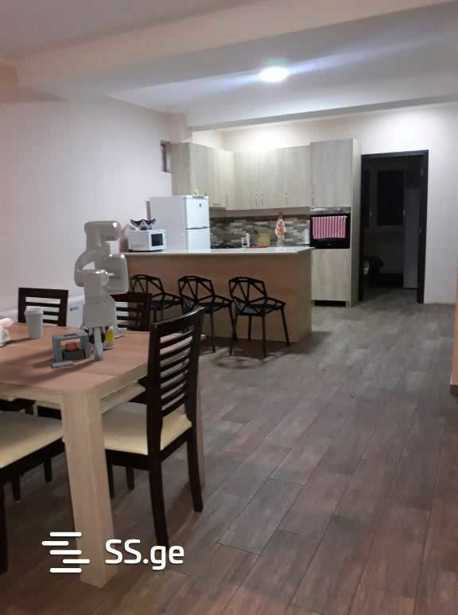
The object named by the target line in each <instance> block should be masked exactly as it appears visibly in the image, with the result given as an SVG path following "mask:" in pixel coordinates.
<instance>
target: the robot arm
mask: <svg viewBox="0 0 458 615" xmlns="http://www.w3.org/2000/svg"><path fill="white" fill-rule="evenodd" d="M83 225H84V226H83V231H84V233H85V235H86V237H85V238H86V240H85V250H84V251H83V252H82V253H81V254H80V255H79V256H78V258H77V259H76V260H75V264H74V270H73V271H74V272H73V282H74V284H75V285H76V286H77V287H78V288H79V287H80V288H83V292H84V293H83V295H84V304H83V305H82V322H81V324H80V326H79V330H80V331H81V332H83V331H84V332H86V333H87V334H88V335H89V342H90V345H93V344H94V340H93V335H92V328H96V327H101V332H102V343H105V342H104V340H105V333H106V331H107V330H108V329H109V328H110V327H111V326H112V327H113V331H114V339H117V338H120V337H121V336H122V333H123V332H124V333H125V332H127V331H128V329H127V327H118V320H117V319H118V318H117V317H118V316H117V306H116V305H117V304H116V301H115V299H114V298H113V297H112V296H111V295H120V294H121V295H122V294H126V293H128V292H129V288H130V287H129V286H130V282H129V272H128V271H129V270H128V262H127V258H126V255H124V254H123V253H112V251H111V243H110V242H117V241H119V239H120V237H121V236H122V225H121V222H120V221H119V220H91V221H88V222H87V221H86V222H85V224H83ZM90 263H91V264H92V263H94V264H93V266H94V269H93V268H92V269H91V268H90V269H87V268H86V269H84V268H85V266H87V265H89V264H90ZM109 274H113V275H109ZM114 274H116V275H114ZM110 321H111V322H110Z"/></svg>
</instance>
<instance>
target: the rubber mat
mask: <svg viewBox="0 0 458 615" xmlns="http://www.w3.org/2000/svg"><path fill="white" fill-rule="evenodd" d="M50 364H51V367H52V368H53V369H59V368H64V367H70V365H71V366H74V365H75V362H74V361H72V360H67V361H65V360H62V361H61V362H57V361H55V362H51V363H50Z"/></svg>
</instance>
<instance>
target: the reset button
mask: <svg viewBox="0 0 458 615" xmlns="http://www.w3.org/2000/svg"><path fill="white" fill-rule="evenodd" d="M64 346H65V349H66V351H75V350H77V347H78V343H77V341H69V342H65V345H64Z"/></svg>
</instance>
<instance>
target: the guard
mask: <svg viewBox="0 0 458 615" xmlns="http://www.w3.org/2000/svg"><path fill="white" fill-rule="evenodd" d="M78 339H80V340H79V341H80V347H79V346H77V350H75V351H66V348H62V342H64V341H70V340H78ZM51 343H52V353H53V359H54V361H55V362H61V361H66V360H71V361H72V360H73V359H74V360H78V359H83V358H86V359H88V358H91V357H92V354H91V343H90V342H89V335H88V334H87V333H86V332H84V331H77V332H70V333H62V334H61V333H60V334H53V335H51ZM74 360H73V361H74Z"/></svg>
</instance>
